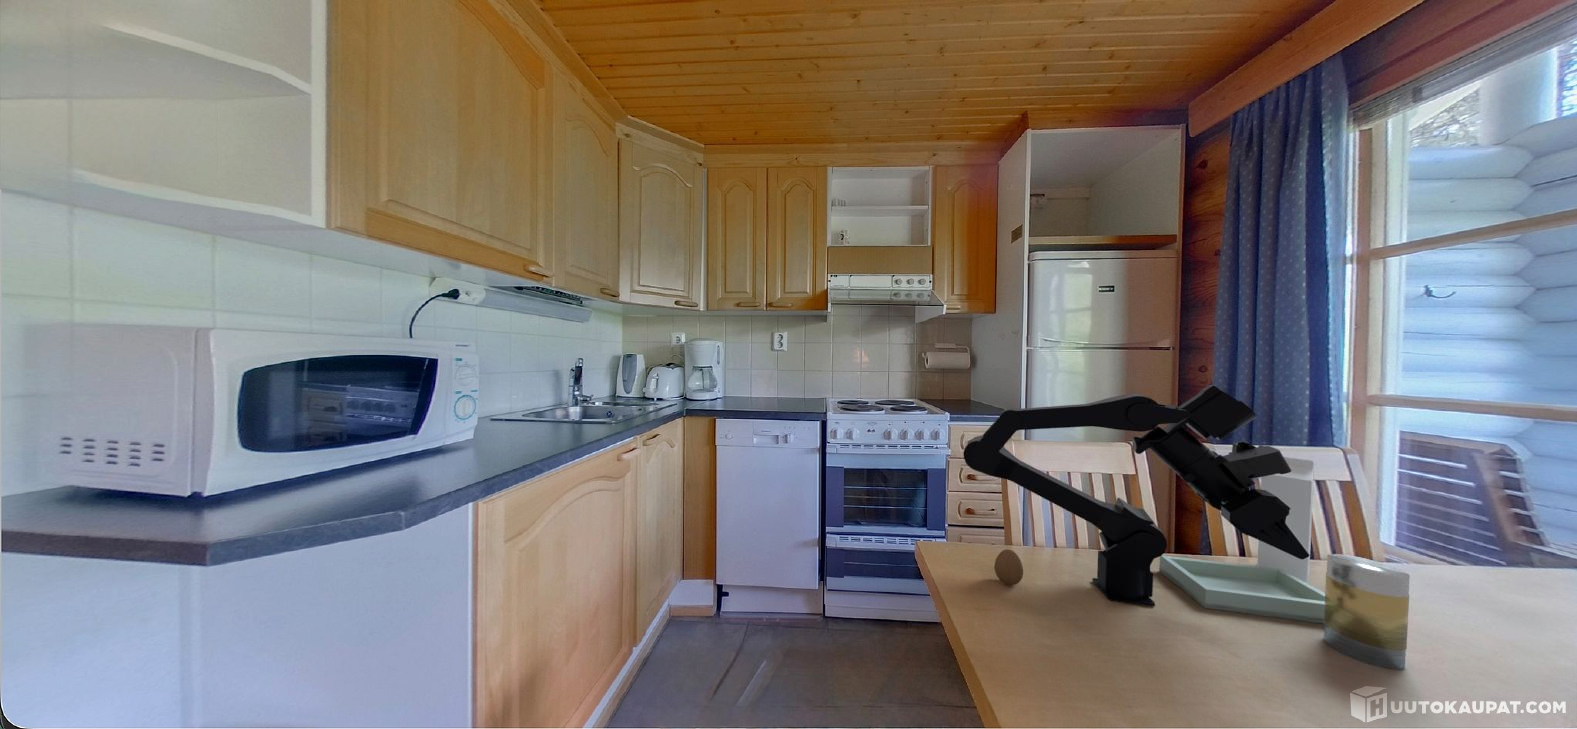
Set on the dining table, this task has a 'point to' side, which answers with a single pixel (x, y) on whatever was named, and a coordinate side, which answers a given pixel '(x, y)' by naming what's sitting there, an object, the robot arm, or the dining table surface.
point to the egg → (1008, 567)
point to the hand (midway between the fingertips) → (1288, 544)
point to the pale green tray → (1246, 588)
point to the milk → (1291, 516)
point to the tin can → (1366, 610)
